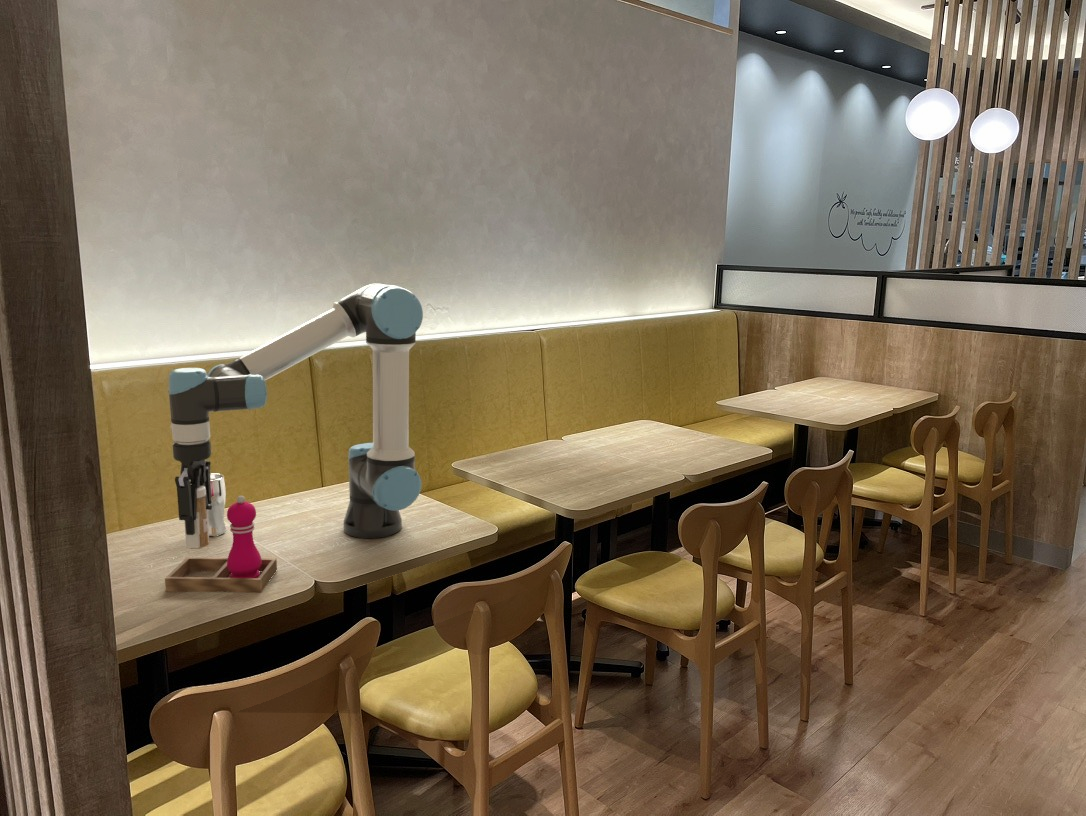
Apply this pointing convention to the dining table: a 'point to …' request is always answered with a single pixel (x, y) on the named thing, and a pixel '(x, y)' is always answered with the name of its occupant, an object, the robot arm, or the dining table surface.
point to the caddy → (217, 577)
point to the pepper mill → (243, 541)
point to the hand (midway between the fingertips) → (197, 542)
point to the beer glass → (217, 505)
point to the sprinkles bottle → (202, 517)
